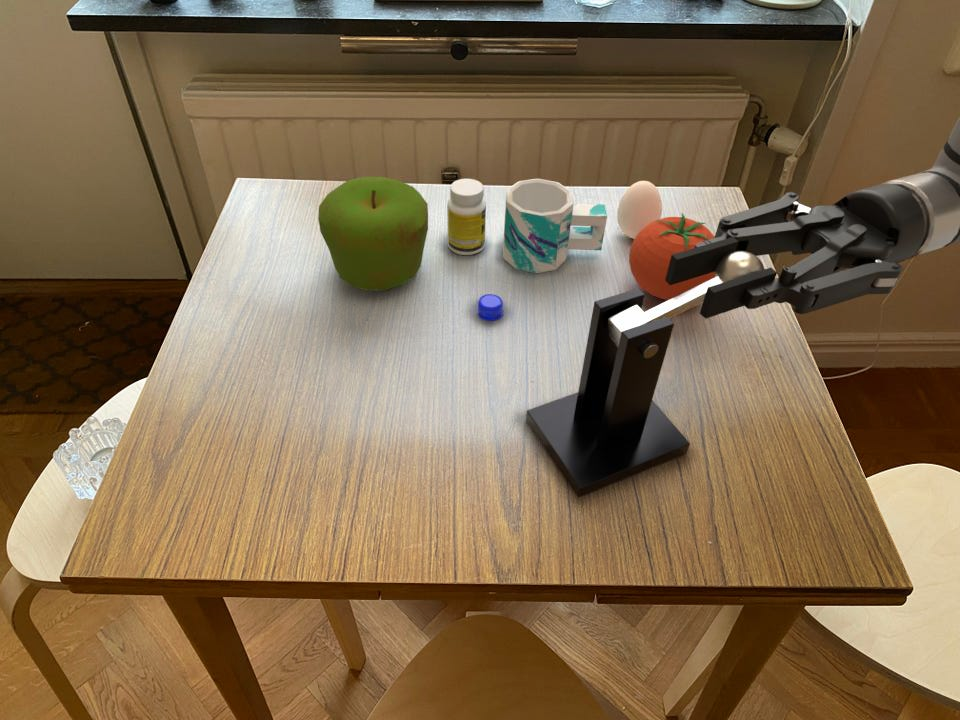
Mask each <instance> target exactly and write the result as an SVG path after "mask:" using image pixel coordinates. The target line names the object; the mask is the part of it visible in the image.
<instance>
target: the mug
mask: <svg viewBox="0 0 960 720" xmlns="http://www.w3.org/2000/svg"><path fill="white" fill-rule="evenodd" d="M607 219H608V214H607V209H606V204H599V203H595V204H594V203H574V197H573V191H572V190H571V189H569V188H568V187H566V186H564V185H563V184H561V183H560V182H558V181H552V180H549V179H542V178H532V179H524V180H519V181H517V182H515V183H514V184H513V185H511V186H510V187H508V188H507V189H506V192H505V209H504V224H503V228H504V229H503V241H502V243H503V244H502V254H503V255H502V257H503V258H502V259H503V260H504V261H506V262H507V264H509V265H510V266H511V267H513V269H515V270H517V271H523V272H527V273H533V274H540V273H546V272H553V271H556V270H557V269H559V267H561V266H562V264H564V263H565V262H566V261H567V255H568V250H570V251H573V250H574V251H602V248H603V242H604V237H605V233H606V232H605V231H606V227H607V221H608V220H607Z"/></svg>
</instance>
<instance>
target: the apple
mask: <svg viewBox="0 0 960 720" xmlns="http://www.w3.org/2000/svg"><path fill="white" fill-rule="evenodd" d="M428 205H429V204H428V202H427V201H426V200H425V199H424V197H423V195H422V194H421V193H420V192H419V191H418V190H417V188H415V187H414V186H412V185H410V184H408V183H405V182H404V181H401V180H399V179H393V178H389V177H384V176H362V177H357V178H352V179H347V180H346V181H344V182H343V183H342V184H340V185H339V186H337V187H336V188H334V189H333V190H331V191H330V192H328V193H327V194H326V195H325V197H324V198H323V200H322V201H321V203H320V204H319V205H318V217H317V219H318V220H317V221H318V225H319V231H320V234H321V236H322V238H323V240H324V242H325V244H326V246H327V249H328V250H329V254H330V257H331V260H332V263H333V266H334V269H335V271H336V273H337V275H338V277H339V278H340V279H341V280H342V281H343V282H345V283H346V284H347V285H348V286H350V287H353V288H357V289H360V290H365V291H387V290H389V289H393V288H396V287H399V286H402V285H403V284H405V283H407V282H409V281H411V280H412V279H414V278H415V277H416V276H417V274H418V272H419V270H420V269H421V267H422V262H423V261H422V260H423V255H424V250H425V245H426V240H427V235H428V230H429V206H428Z"/></svg>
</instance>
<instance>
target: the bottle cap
mask: <svg viewBox="0 0 960 720" xmlns="http://www.w3.org/2000/svg"><path fill="white" fill-rule="evenodd" d="M476 314H477V316H478V317H479V318H480V319H481V320H484V321H487V322H494V321H495V322H496V321H498V320H500V319H501V318H502V317H503V315H504V301H503V300H502V298H501V297H500V296H499V295H497V294H495V293H494V294H493V293H487V294H484V295H482V296H481V297H480V298H479V299H478V301H477V308H476Z"/></svg>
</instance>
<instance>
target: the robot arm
mask: <svg viewBox="0 0 960 720" xmlns="http://www.w3.org/2000/svg"><path fill="white" fill-rule="evenodd" d="M799 198H800V195H799V194H798V193H796V192H793V191H789V192H785V194H783V196H781V197H780V198H779V199H777V200H773V201H770V202H767V203H764V204H761V205H757V206H755V207H751V208H748V209H745V210H740V211H739V212H736V213H735V212H734V213H732V214H730V215H726V216H722V217H721V218H719V221H718V225H717V227H716V231H715V234H714V236H715V237H714V238H713V239H710V240H708V241H704V242H700V243H698V244H696V245H695V248H693V249H690V250H686V251H683V252H680V253H676V254H673V255H671V259H670V263H669V267H668V271H667V274H666V278H665V281H666V282H667V283H668V284H669V285H673V284H676V283H680V282H683V281H686V280H689V279H693V278H696V277H699V276H702V275H706V274H709V273H712V272H715V270H716V267H717V265H718V263H719V262H720V260H721V259H722V258H723V257H724V256H726V255H727V254H729V253H732V252H735V251H746V252H750V253H752V254H754V255H755V256H757V257H760V256H765V255H767V256H768V255H774V254H780V253H781V254H783V253H788V252H790V253H791V254H792V255H793V256H798V255H805V254H810V255H808V256H807V257H805V258H803V259H801V260H800V261H798V262H796V263H794V264H793V265H791V266H787V265H786V264H784V265H782V268H781V271H780V272H779V276H777V274H778V272H777V271H776V270H775V269H774V268H772V267H767V268H764V270H761V271H758V272H755V273H752V274H749V275H745V276H742V277H739V278H736V279H733V280H730V281H726V282H723V283H720V284H717V285H714V286H711V287H708V288H707V292H706V295H705V298H704V301H703V302H702V303H701V307H700V311H699V315H700V316H702V317H703V319H705V320H706V319H709V318H712V317H715V316H718V315H722V314H724V313H728V312H730V311H733V310H736V309H740V308H741V307H745V308H746V309H747V310H755V309H758V308H761V307H764V306H767V305H769V304H773V303H777V304H784V303H787V304H789V305H791V309H792V311H793V312H794V313H796V314H798V315H805V314H808V313H812V312H815V311H818V310H819V311H820V310H822V309H825V308H828V307H832V306H834V305H838V304H841V303H844V302H847V301H850V300H855V299H858V298H860V297H863V296H865V295H866V296H867V295H887V294H891V292H892V290H893V288H894V286H895V284H896V283H897V281H898V279H899V277H900V275H901V274H902V272H903V270H904V268H903V266H902V265H901V264H900V263H902V262H905V261H907V260H910V259H913V258H916V257H919V256H922V255H925V254H928V253H931V252H934V251H937V250H939V249H943V248H946V247H948V246H950V245H953V244H956V243H960V115H959V117H958V118H957V120H956V121H955V125H954V126H953V129H952V131H951V133H950V135H949V136H948V138H947V139H946V142H945V143H944V145H943V146H942V148H941V150H940V152H939V154H938V156H937V158H936V160H935V161H934V163H933V165H932V166H931V168H930V169H926V170H923V171H920V172H916V173H913V174H911V175H907V176H903V177H899V178H895V179H891V180H888V181H886V182H882V183H880V184H874V185H873V186H868V187H865V188H861V189H858V190H853V191H852V192H850V193H847V194H846V195H845V196H843V197H842V198H841V199H839V200H838V201H836V202H835V203H833V204H832V205H820V204H819V205H815V206H812V207H810V206H806V205H804V204H802V203H799V202H798V201H799Z"/></svg>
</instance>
